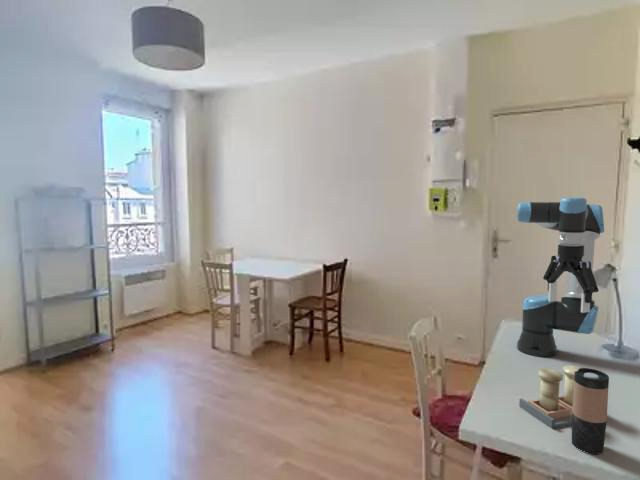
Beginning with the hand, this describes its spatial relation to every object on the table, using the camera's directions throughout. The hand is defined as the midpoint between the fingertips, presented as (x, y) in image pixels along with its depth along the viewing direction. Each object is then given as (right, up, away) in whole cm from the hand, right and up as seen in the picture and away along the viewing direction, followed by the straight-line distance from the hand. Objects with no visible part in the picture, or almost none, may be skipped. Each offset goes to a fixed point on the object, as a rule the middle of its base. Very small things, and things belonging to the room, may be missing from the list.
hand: (567, 306), depth 142 cm
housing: (-10, -30, -14) cm, 35 cm away
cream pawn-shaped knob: (-15, -29, -15) cm, 36 cm away
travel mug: (-13, -32, -31) cm, 47 cm away
